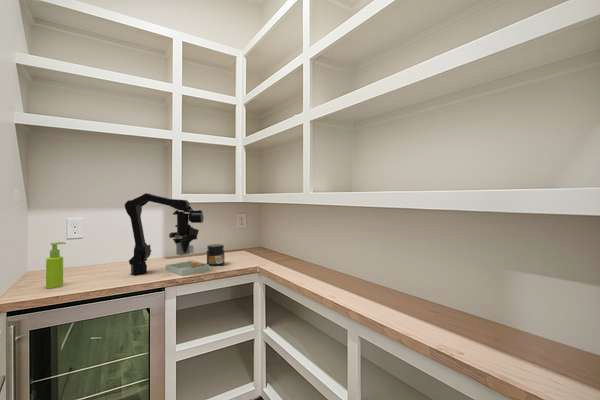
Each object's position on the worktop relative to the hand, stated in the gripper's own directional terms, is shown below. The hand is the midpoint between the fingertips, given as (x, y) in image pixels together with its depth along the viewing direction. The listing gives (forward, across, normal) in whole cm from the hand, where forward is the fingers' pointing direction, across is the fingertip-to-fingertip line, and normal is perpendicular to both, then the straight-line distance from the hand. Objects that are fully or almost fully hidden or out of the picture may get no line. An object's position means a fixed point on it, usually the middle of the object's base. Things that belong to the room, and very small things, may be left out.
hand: (182, 251), depth 151 cm
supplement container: (+12, +2, -22) cm, 25 cm away
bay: (+11, +2, -4) cm, 12 cm away
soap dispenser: (+12, +24, +48) cm, 55 cm away
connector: (+1, 0, -1) cm, 2 cm away
